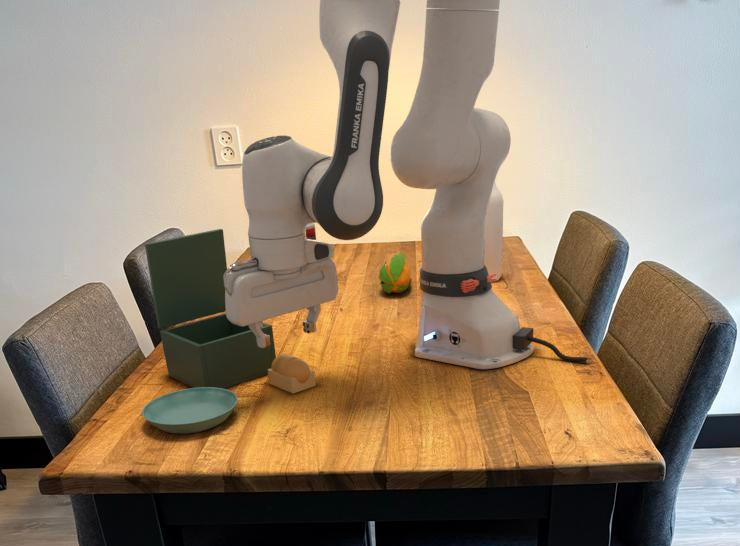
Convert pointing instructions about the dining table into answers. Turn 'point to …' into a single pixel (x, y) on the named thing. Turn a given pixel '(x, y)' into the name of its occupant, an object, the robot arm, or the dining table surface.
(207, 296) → the lid
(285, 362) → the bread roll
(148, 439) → the dining table surface
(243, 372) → the bread bin
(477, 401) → the dining table surface
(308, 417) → the dining table surface
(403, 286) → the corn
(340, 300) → the dining table surface
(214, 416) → the saucer
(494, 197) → the alcohol
